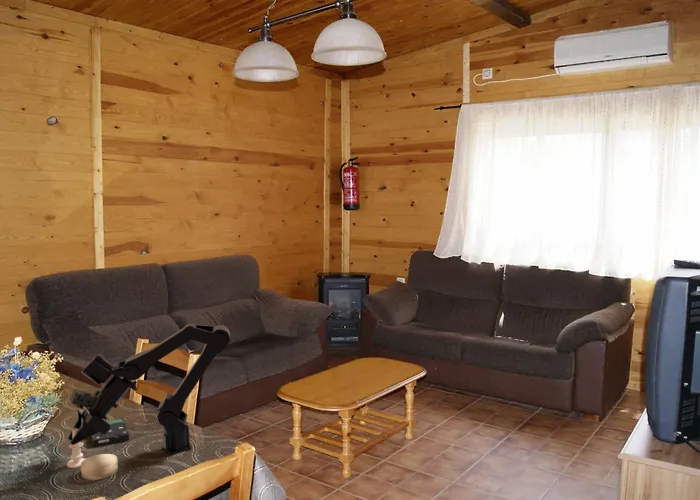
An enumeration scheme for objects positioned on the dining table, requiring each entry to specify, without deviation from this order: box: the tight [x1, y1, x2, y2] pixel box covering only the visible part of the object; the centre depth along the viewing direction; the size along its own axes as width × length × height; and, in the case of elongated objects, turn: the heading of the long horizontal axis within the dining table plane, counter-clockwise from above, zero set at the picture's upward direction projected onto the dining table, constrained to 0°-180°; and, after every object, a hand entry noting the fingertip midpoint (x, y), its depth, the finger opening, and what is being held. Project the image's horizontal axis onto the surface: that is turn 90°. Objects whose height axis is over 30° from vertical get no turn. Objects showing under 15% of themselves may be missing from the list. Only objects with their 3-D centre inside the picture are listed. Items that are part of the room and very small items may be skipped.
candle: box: [66, 427, 86, 469], centre depth 167 cm, size 5×5×10 cm
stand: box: [80, 453, 119, 481], centre depth 162 cm, size 9×9×3 cm
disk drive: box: [90, 417, 131, 448], centre depth 187 cm, size 10×3×15 cm
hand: (70, 441), depth 166 cm, fingers open, 3 cm apart
